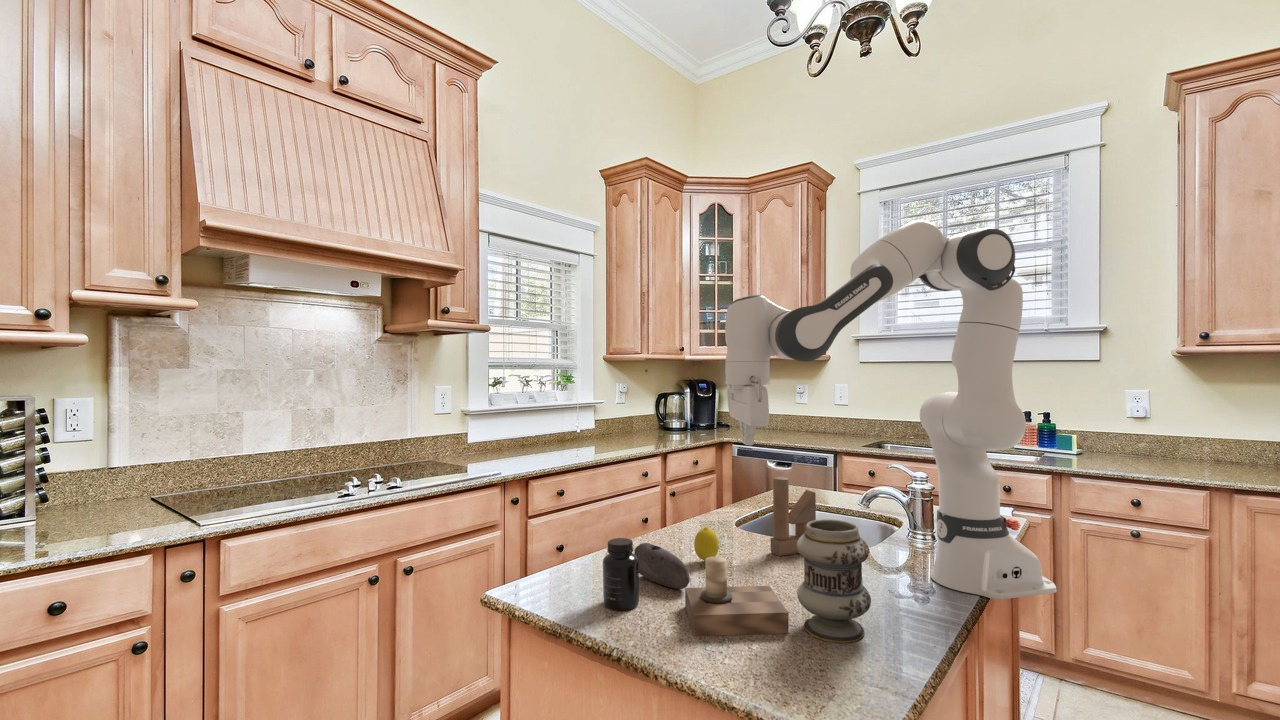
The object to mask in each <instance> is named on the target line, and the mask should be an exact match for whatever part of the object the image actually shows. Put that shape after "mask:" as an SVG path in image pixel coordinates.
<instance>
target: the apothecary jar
mask: <svg viewBox="0 0 1280 720" xmlns="http://www.w3.org/2000/svg"><path fill="white" fill-rule="evenodd" d="M797 550H798V552H799V553H798V554H799V555H801V557H803V565H804V570H803V571H804V572H803V573H804V574H803V576H804V577H803V578H804V580H803V581H802V582H801V584H800V585H799V586H798V587H797V592H796V597H797V600H798V602H799V603H800V605H801V606H802V607H803V608H804V609H805V610H807V611H808V612H809V613H810V614H812V616H811V617H809V618H807V619H806V620H805V621H804V623H803V628H804V630H805V631H806V633H808V634H809V635H810V636H812V637H813V638H816V639H818V640H821V641H825V642H829V643H837V644H839V643H840V644H848V643H855V642H858V641H860V640H861V639H862V638H863V637H864V636H865V629H864V628H863V626H862V624H860V623H859V622H858V621H856V620H854V619H856V618H859V617H861V616H863V615H865V614H866V613H867V612H868V611H869V610H870V608H871V605H872V598H871V594H870V592H869V591H868V589H867V588H866V586H864V582H863V568H862V567H863V566H862V565H863V564H862V563H864V562H865V561H866V560H867V559H868V557H869V555H870V547H869V545H868V543H867V541H866V540H864V539H863V538H862V537H861V535H860V532H859V527H858V526H857V524H855V523H853V522H850V521H847V520H841V519H832V518H831V519H830V518H829V519H828V518H826V519H825V518H822V519H816V520H813V521H810V522H808V523H807V525H806V531H805V534H803V535H802V536H801V537H800V538H799V540H798V542H797Z"/></svg>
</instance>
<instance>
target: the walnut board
mask: <svg viewBox="0 0 1280 720" xmlns="http://www.w3.org/2000/svg"><path fill="white" fill-rule="evenodd" d="M704 590H706V586H705V587H686V588H684V601H685V602H684V605H685V609H686V613H687V617H688V619H689V622H690V627H691V629H692V632H693V636H694V637H706V636H707V637H708V636H712V637H713V636H736V635H737V636H739V635H740V636H743V635H775V634H776V635H777V634H789V626H790V625H789V623H790V622H789V621H790V619H789V611H788V610H787V608H786V607H785V605H784V604H783V603H782V601H781V600H780V598H779V597H778V596H777V594H776V593H775V592H774V590H773V589H772V587H771V586H770V585H745V586H744V585H743V586H727V591H729V592H730V593H731V594H732V600H731V601H730V602H728V603H725V604H711V603H707V602H705V601H703V600H702V599H701V592H702V591H704Z"/></svg>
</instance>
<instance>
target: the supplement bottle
mask: <svg viewBox="0 0 1280 720" xmlns="http://www.w3.org/2000/svg"><path fill="white" fill-rule="evenodd" d="M633 552H634V544H633V540H632V539H630V538H627V537H617V538H612V539H610V540H608V541H607V554H606V555H605V556H603V559H602V589H603V590H602V592H603V595H602V597H603V604H604V606H605V607H606V608H607V609H608V608H609V609H608V610H611V609H612V610H611V611H615V610H617V611H618V612H623V611H624V612H625V611H629V610H632V609H634V608H636V607H637V606H638V605H639V603H640V576H639V575H640V574H639V565H638V558H637V556H636V555H635V554H634V553H633Z"/></svg>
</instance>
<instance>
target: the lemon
mask: <svg viewBox="0 0 1280 720" xmlns="http://www.w3.org/2000/svg"><path fill="white" fill-rule="evenodd" d="M719 545H720V544H719V538H718V536H717V534H716V533H715V532H714V530H712V529H710V528H709V527H704V528H702V529H701V530H700V529H699V531H698V532H697V533H696V534H695V537H694V543H693V546H694V552H695V554H696V556H697V557H698V558H700V560H703V562H705V559H706V558H708V557H717V555H718V552H719V548H720V547H719Z"/></svg>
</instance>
